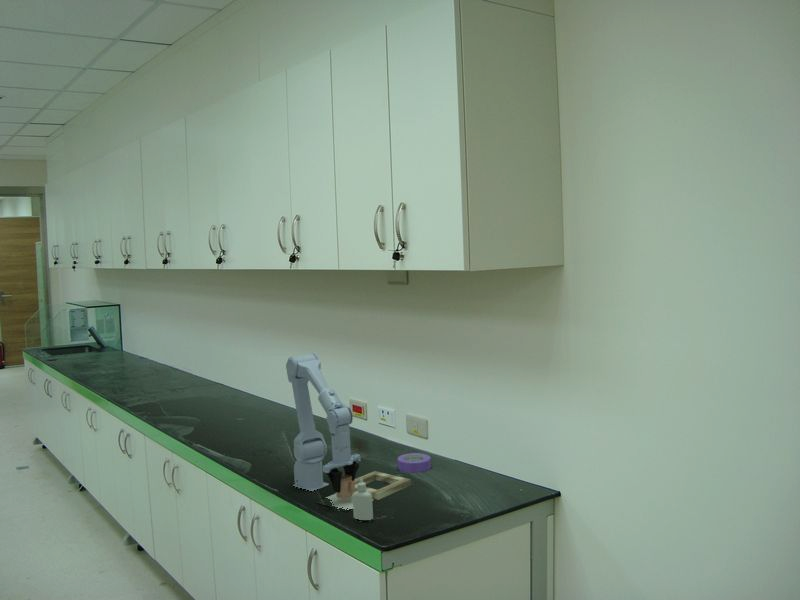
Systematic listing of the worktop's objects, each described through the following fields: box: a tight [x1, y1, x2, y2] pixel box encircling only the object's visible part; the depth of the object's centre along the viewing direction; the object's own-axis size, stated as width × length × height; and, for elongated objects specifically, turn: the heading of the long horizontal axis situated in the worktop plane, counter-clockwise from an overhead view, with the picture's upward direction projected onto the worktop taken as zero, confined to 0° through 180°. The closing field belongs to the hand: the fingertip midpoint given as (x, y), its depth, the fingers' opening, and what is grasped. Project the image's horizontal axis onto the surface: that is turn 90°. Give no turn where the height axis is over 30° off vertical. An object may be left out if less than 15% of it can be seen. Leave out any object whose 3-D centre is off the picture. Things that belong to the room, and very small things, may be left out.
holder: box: [354, 470, 412, 501], centre depth 229 cm, size 16×16×2 cm
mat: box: [325, 493, 375, 510], centre depth 218 cm, size 14×12×1 cm
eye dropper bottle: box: [352, 479, 374, 521], centre depth 202 cm, size 4×6×12 cm
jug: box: [335, 473, 355, 498], centre depth 217 cm, size 5×7×6 cm
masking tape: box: [397, 452, 432, 474], centre depth 248 cm, size 12×12×4 cm
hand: (343, 489), depth 218 cm, fingers closed on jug, 5 cm apart
